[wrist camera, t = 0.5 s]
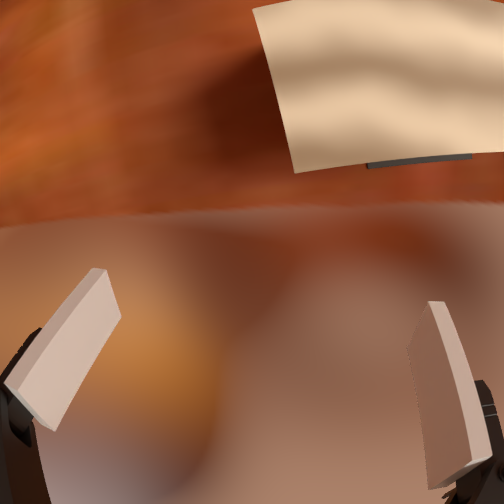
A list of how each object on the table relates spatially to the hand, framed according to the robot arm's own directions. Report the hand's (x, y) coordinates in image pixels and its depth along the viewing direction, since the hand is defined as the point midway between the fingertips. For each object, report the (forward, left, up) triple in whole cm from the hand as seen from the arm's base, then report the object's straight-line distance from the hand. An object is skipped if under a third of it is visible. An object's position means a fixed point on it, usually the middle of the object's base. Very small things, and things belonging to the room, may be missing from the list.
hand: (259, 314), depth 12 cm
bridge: (-8, +13, -27) cm, 31 cm away
